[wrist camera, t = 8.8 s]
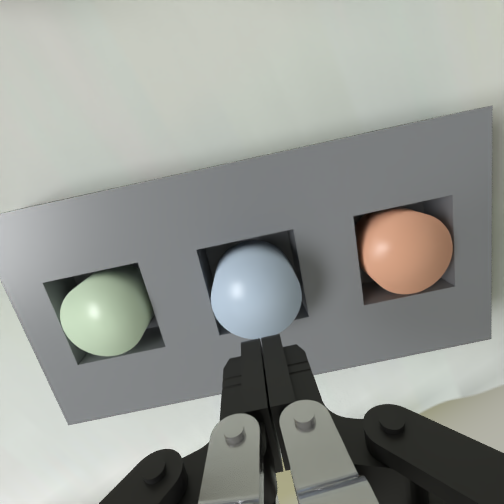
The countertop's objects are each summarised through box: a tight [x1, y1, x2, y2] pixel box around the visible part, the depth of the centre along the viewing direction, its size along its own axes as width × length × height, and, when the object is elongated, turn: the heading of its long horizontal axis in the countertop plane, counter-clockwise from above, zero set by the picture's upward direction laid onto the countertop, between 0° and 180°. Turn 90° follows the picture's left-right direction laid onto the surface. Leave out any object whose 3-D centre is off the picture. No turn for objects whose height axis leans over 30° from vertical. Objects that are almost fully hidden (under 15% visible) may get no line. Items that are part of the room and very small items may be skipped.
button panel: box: [0, 106, 492, 425], centre depth 21 cm, size 28×14×4 cm, turn 102°
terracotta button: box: [355, 206, 453, 294], centre depth 20 cm, size 5×5×3 cm
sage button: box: [60, 265, 155, 356], centre depth 20 cm, size 5×5×3 cm
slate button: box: [211, 240, 302, 339], centre depth 18 cm, size 5×5×3 cm
